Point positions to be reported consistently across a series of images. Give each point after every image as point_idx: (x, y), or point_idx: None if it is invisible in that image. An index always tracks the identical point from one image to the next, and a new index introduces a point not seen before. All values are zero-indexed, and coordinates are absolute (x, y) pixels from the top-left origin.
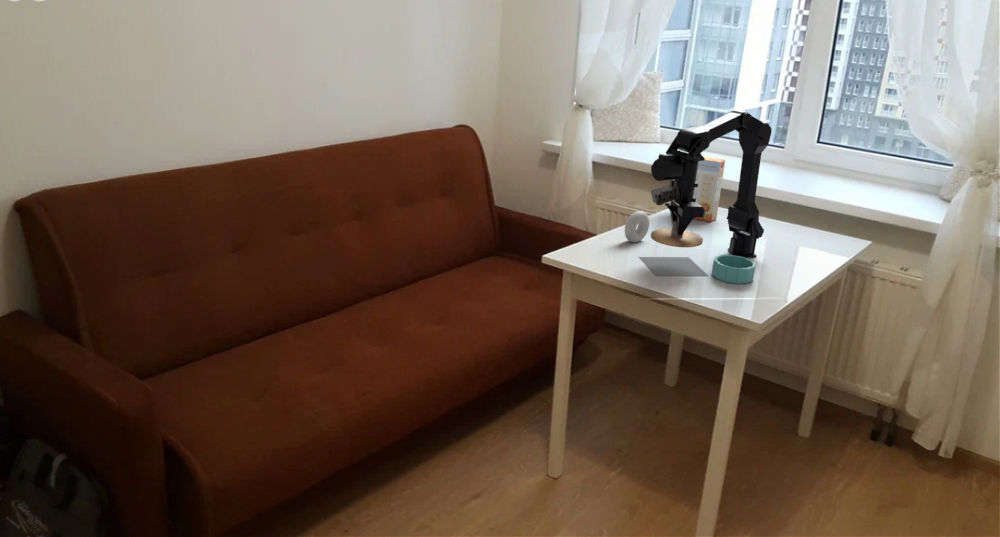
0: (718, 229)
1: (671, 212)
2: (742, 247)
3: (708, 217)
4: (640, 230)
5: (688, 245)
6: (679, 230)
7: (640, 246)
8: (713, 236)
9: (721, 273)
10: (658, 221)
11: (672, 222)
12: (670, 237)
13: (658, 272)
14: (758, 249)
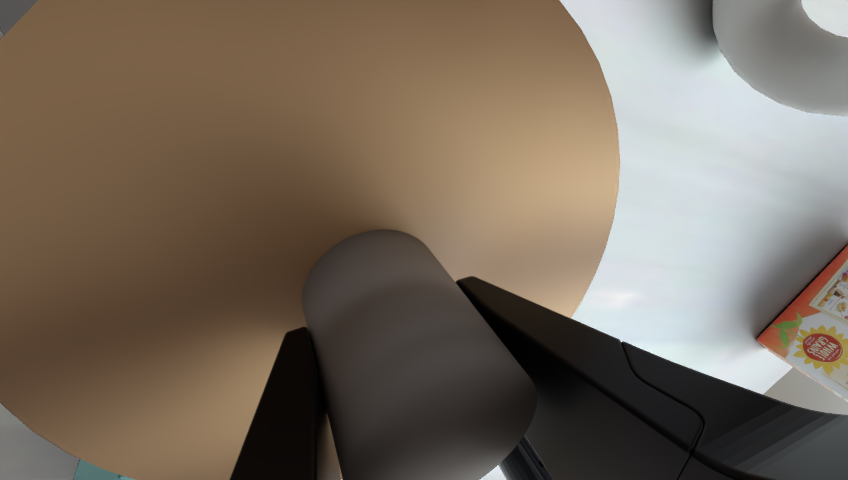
0: (707, 356)
1: (727, 442)
2: (510, 460)
3: (776, 339)
4: (791, 45)
5: (28, 413)
6: (268, 400)
7: (664, 28)
8: (667, 346)
9: None
10: (839, 187)
11: (542, 326)
12: (305, 218)
13: None
14: None
